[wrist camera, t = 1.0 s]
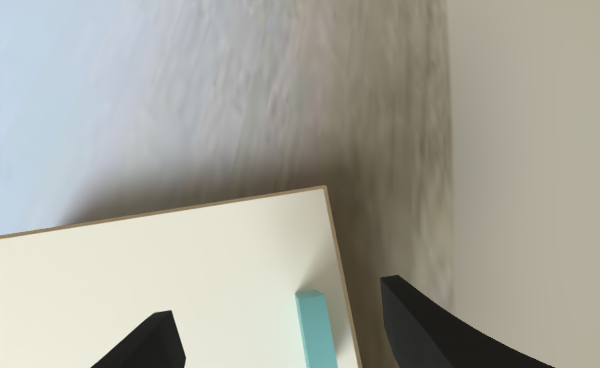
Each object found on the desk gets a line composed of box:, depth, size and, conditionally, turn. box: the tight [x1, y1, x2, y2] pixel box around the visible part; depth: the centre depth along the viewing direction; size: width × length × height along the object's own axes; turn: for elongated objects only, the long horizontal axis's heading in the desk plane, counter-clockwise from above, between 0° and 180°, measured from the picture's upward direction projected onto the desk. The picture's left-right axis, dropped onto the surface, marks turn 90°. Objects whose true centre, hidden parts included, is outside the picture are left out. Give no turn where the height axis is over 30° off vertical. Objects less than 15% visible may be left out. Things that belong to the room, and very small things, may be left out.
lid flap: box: [0, 189, 358, 368], centre depth 15 cm, size 15×19×4 cm
